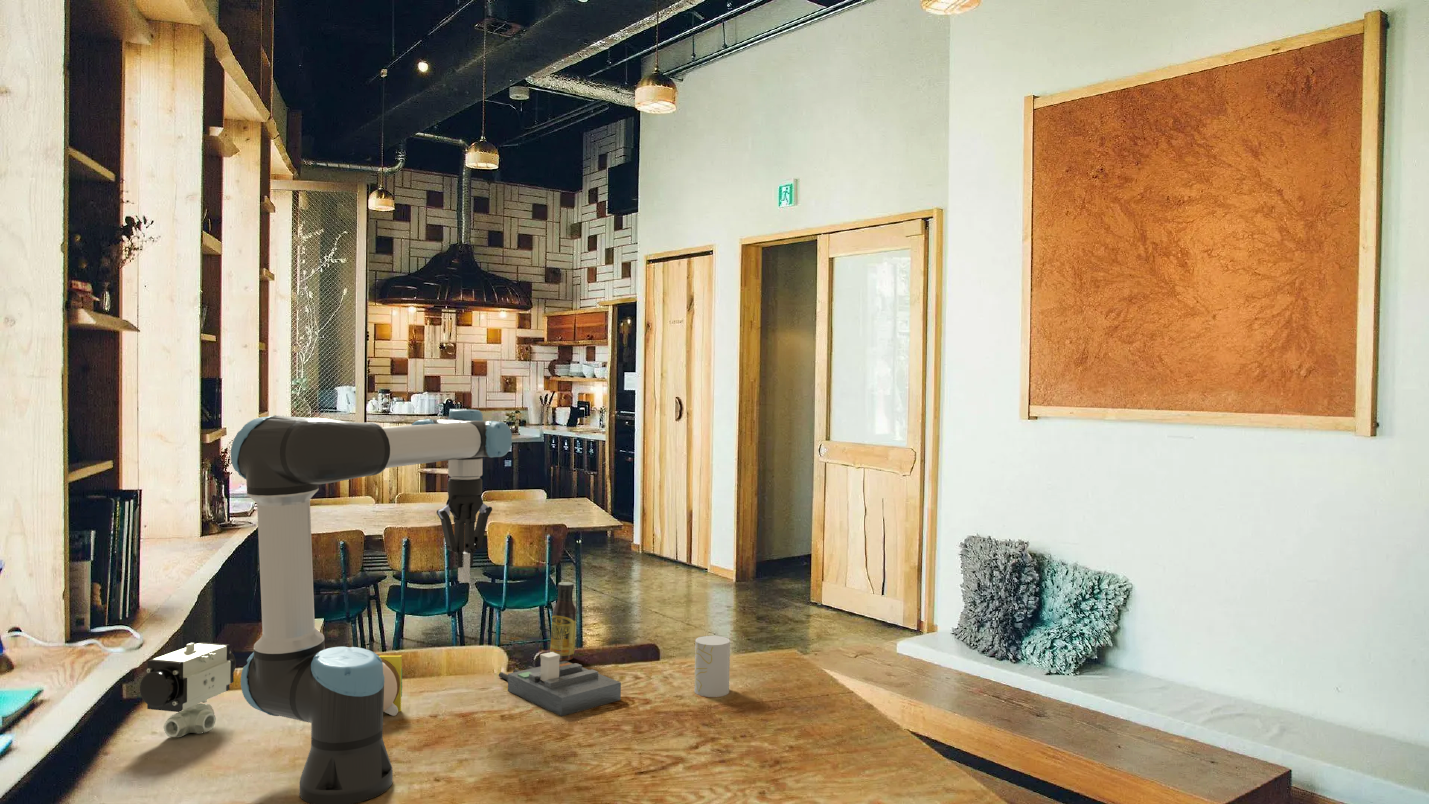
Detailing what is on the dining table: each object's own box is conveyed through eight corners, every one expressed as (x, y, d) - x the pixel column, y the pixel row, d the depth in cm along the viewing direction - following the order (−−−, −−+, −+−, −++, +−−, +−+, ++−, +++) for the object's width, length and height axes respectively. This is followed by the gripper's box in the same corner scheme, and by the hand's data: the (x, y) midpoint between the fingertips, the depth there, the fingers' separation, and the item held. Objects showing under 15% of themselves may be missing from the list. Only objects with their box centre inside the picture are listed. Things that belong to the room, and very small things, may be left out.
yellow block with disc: (334, 721, 192) (335, 664, 191) (347, 707, 200) (348, 652, 200) (393, 720, 192) (394, 663, 192) (403, 707, 201) (404, 652, 201)
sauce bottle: (545, 661, 236) (547, 584, 236) (556, 654, 242) (558, 579, 242) (568, 663, 234) (570, 586, 234) (579, 657, 240) (580, 581, 240)
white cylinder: (689, 688, 217) (689, 637, 216) (720, 684, 220) (720, 634, 220) (703, 698, 209) (704, 646, 209) (734, 694, 213) (735, 643, 213)
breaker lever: (559, 680, 207) (560, 654, 207) (547, 683, 205) (548, 657, 205) (551, 677, 209) (552, 651, 209) (539, 679, 207) (540, 654, 207)
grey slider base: (620, 700, 207) (620, 677, 207) (561, 716, 196) (561, 692, 196) (542, 667, 231) (543, 647, 231) (486, 680, 220) (486, 659, 220)
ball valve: (175, 750, 175) (176, 658, 174) (137, 746, 176) (138, 654, 176) (242, 718, 192) (243, 634, 192) (207, 714, 194) (207, 631, 194)
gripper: (482, 474, 214) (481, 575, 215) (430, 477, 205) (429, 582, 206) (499, 477, 209) (497, 580, 209) (446, 480, 200) (445, 587, 200)
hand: (463, 581), depth 207 cm, fingers closed
